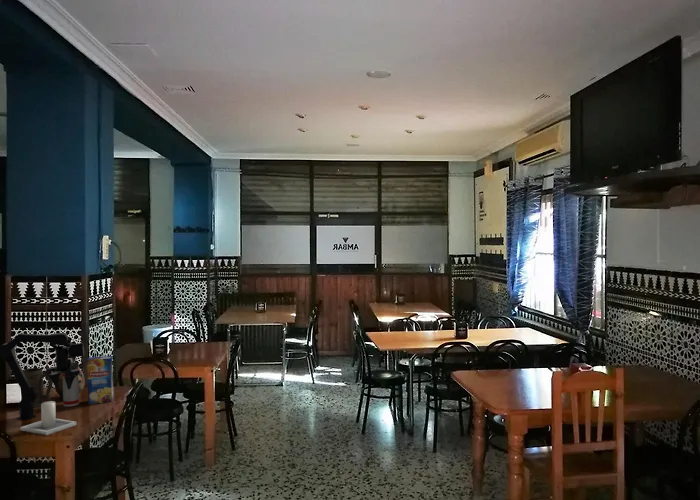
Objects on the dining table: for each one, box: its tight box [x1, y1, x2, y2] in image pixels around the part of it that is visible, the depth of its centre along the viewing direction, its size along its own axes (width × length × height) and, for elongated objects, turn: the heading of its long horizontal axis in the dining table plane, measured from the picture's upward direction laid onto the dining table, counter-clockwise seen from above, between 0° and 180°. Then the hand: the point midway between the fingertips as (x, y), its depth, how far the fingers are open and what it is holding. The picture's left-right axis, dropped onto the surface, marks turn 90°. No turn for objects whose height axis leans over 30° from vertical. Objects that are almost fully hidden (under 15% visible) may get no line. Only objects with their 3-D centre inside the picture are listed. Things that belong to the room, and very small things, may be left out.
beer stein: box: [22, 367, 53, 409], centre depth 319 cm, size 15×11×20 cm
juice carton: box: [86, 355, 114, 405], centre depth 325 cm, size 12×8×24 cm, turn 105°
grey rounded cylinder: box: [40, 400, 57, 428], centre depth 278 cm, size 6×6×11 cm
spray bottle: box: [62, 358, 80, 407], centre depth 319 cm, size 8×8×25 cm
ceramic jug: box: [54, 349, 86, 401], centre depth 335 cm, size 17×15×30 cm
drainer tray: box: [19, 418, 77, 436], centre depth 279 cm, size 18×16×2 cm
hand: (63, 388), depth 302 cm, fingers open, 9 cm apart
